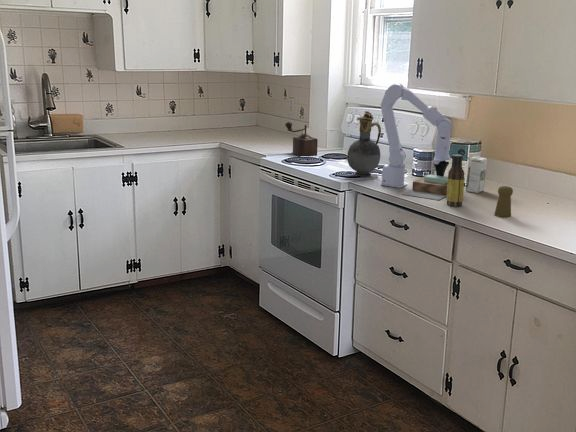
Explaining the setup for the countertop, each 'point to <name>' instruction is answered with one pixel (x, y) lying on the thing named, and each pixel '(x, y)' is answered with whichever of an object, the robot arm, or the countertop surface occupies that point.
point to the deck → (429, 187)
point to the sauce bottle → (455, 182)
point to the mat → (424, 195)
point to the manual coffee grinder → (303, 143)
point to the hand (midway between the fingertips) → (439, 178)
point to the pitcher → (364, 148)
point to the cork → (504, 202)
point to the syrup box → (476, 174)
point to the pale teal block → (436, 179)
